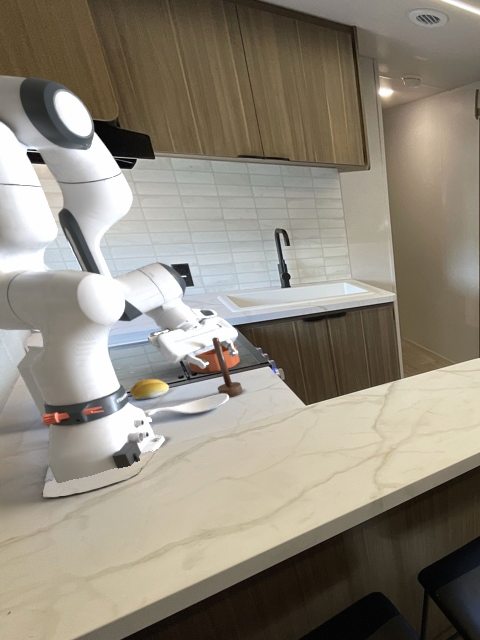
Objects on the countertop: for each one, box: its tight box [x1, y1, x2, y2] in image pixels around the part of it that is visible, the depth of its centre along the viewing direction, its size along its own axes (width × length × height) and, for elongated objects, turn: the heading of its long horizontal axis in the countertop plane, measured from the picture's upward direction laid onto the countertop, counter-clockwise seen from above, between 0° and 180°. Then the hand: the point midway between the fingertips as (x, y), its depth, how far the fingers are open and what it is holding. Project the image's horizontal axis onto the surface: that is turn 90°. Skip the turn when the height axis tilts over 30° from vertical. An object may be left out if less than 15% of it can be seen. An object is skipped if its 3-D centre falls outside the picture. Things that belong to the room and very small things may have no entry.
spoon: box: [142, 393, 230, 417], centre depth 100 cm, size 9×32×4 cm, turn 130°
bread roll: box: [129, 378, 170, 401], centre depth 115 cm, size 8×9×4 cm
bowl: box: [186, 342, 241, 374], centre depth 135 cm, size 14×14×6 cm
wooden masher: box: [212, 337, 243, 398], centre depth 112 cm, size 6×6×17 cm
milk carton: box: [16, 345, 45, 417], centre depth 99 cm, size 7×7×19 cm
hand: (221, 360), depth 112 cm, fingers open, 8 cm apart
